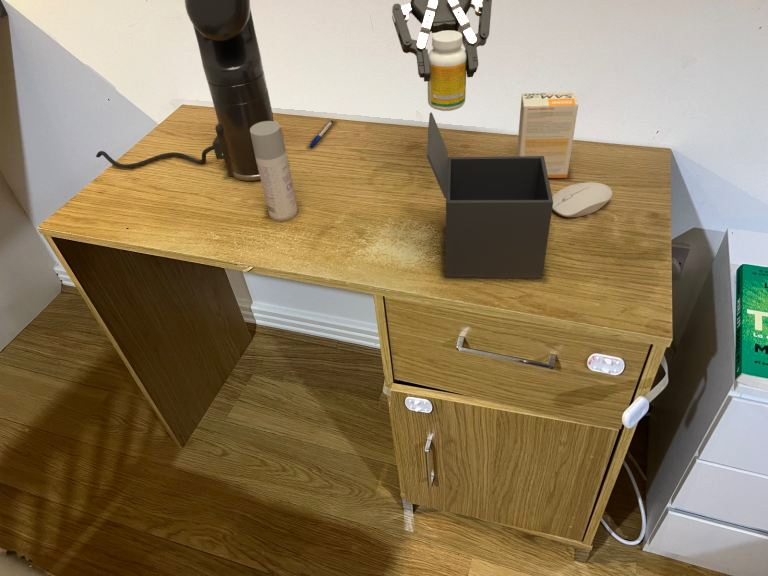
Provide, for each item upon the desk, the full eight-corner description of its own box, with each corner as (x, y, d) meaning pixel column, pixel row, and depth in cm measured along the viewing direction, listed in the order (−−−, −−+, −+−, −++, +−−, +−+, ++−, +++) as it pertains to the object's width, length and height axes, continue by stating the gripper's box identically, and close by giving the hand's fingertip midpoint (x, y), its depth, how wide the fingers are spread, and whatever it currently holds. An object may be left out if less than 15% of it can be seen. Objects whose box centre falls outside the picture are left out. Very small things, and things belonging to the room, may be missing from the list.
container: (298, 218, 94) (281, 133, 84) (269, 223, 94) (248, 137, 84) (297, 202, 98) (280, 118, 88) (269, 206, 98) (249, 122, 87)
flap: (446, 197, 73) (444, 198, 73) (448, 152, 81) (446, 153, 81) (428, 154, 69) (426, 155, 69) (431, 112, 77) (429, 113, 77)
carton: (445, 277, 82) (445, 202, 73) (446, 230, 90) (447, 156, 81) (541, 279, 80) (553, 202, 72) (534, 230, 88) (544, 155, 80)
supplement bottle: (422, 100, 86) (420, 32, 80) (455, 92, 88) (456, 25, 81) (437, 115, 83) (437, 45, 76) (472, 106, 84) (474, 37, 77)
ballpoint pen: (313, 149, 111) (313, 144, 111) (309, 148, 111) (308, 143, 111) (333, 123, 118) (332, 118, 118) (329, 122, 119) (328, 118, 118)
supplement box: (563, 164, 101) (575, 90, 92) (567, 179, 98) (579, 104, 89) (514, 164, 102) (521, 91, 93) (516, 179, 99) (523, 105, 90)
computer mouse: (541, 204, 93) (543, 187, 91) (594, 187, 95) (597, 171, 93) (563, 223, 89) (566, 207, 87) (618, 206, 91) (622, 190, 89)
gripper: (383, -55, 77) (398, 71, 77) (492, -66, 78) (507, 60, 77) (383, -23, 85) (396, 93, 84) (482, -32, 85) (495, 82, 84)
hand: (449, 76), depth 81 cm, fingers closed on supplement bottle, 5 cm apart
